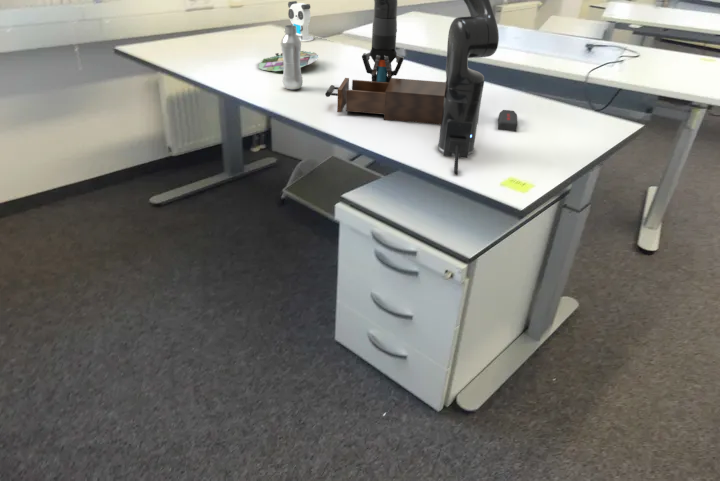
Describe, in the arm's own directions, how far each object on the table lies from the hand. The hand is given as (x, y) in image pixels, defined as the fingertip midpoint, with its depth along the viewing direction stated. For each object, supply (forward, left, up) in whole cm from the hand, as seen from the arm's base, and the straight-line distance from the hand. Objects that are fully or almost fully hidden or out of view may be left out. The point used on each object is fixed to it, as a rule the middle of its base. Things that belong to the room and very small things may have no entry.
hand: (381, 86), depth 178 cm
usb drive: (-16, -40, -3) cm, 43 cm away
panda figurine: (+72, +46, -3) cm, 85 cm away
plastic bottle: (0, +30, -3) cm, 30 cm away
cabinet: (-15, -13, -3) cm, 20 cm away
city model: (+27, +39, -3) cm, 47 cm away
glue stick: (0, 0, -3) cm, 3 cm away
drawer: (-15, +4, -2) cm, 16 cm away
